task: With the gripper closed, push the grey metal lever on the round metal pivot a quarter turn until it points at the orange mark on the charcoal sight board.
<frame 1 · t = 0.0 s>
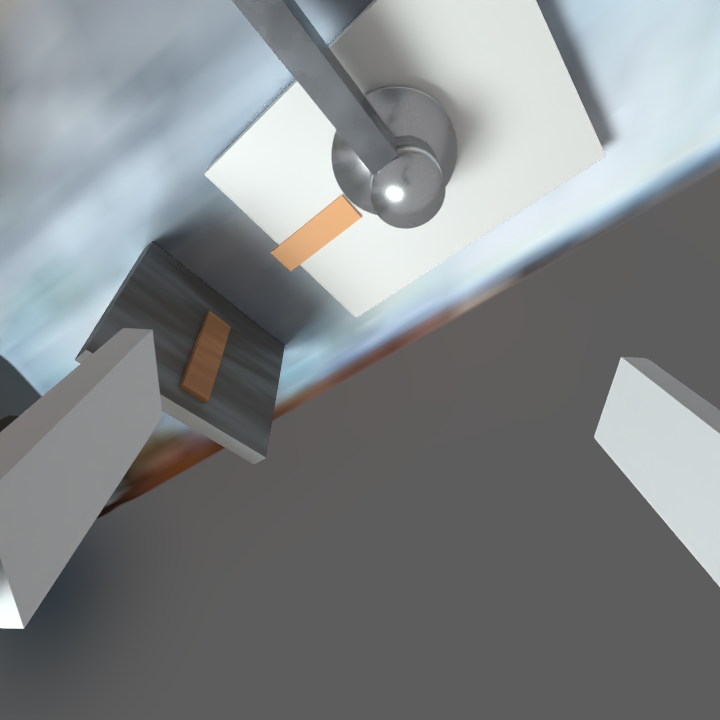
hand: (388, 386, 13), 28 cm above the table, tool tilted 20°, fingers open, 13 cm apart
sight board: (219, 302, 46), on the table
grey metal lever: (349, 107, 30), point 4 cm above the table, hinge at 0.0°
base plate: (401, 157, 36), on the table
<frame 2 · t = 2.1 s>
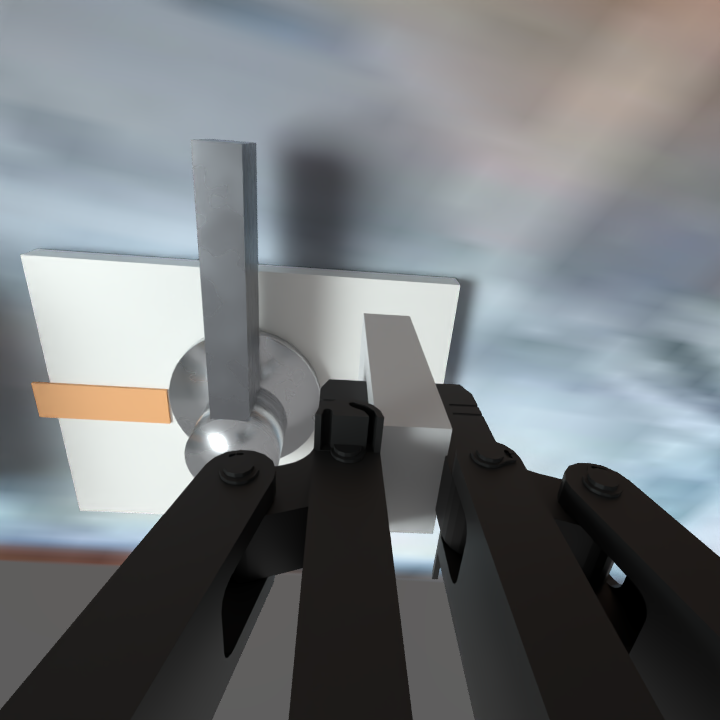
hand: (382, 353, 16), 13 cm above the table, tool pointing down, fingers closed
grey metal lever: (237, 337, 25), point 4 cm above the table, hinge at 0.0°
base plate: (253, 398, 31), on the table
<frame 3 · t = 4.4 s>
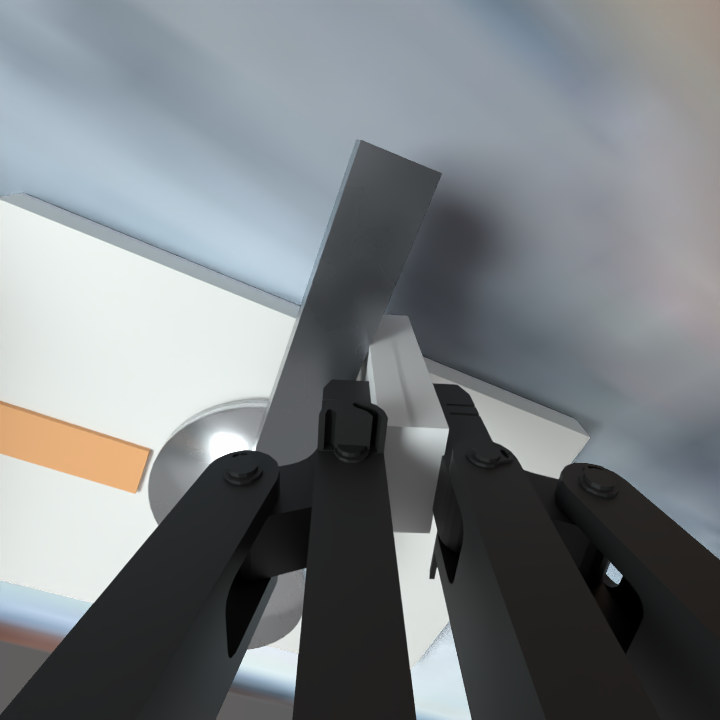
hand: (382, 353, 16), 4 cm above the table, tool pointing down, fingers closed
grey metal lever: (290, 429, 16), point 4 cm above the table, hinge at 3.9°, touching gripper
base plate: (260, 482, 23), on the table
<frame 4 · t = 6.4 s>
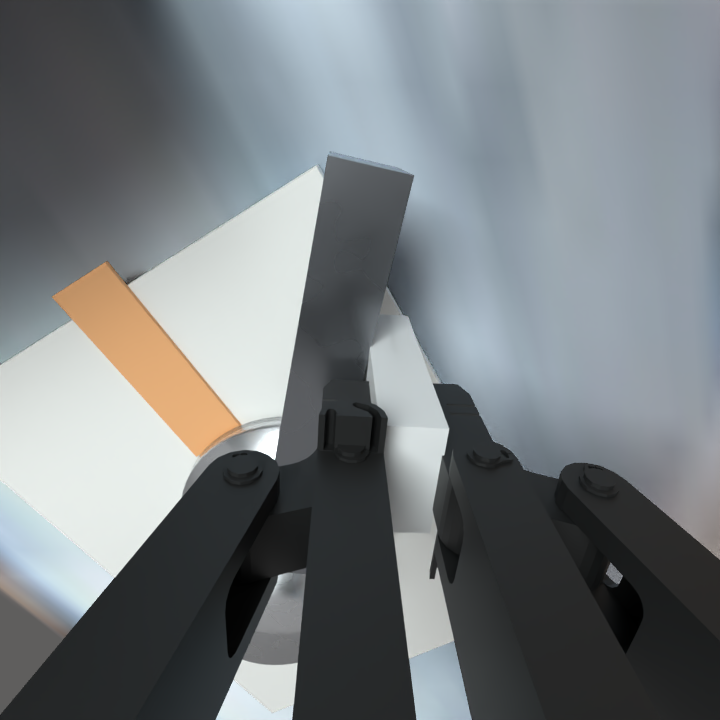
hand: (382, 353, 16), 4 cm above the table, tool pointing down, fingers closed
grey metal lever: (307, 444, 17), point 4 cm above the table, hinge at 48.0°, touching gripper
base plate: (290, 496, 23), on the table
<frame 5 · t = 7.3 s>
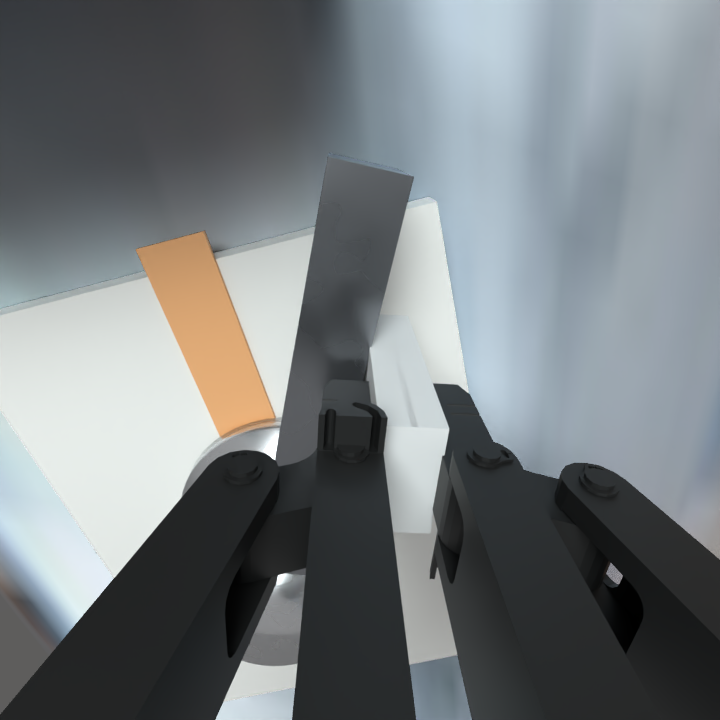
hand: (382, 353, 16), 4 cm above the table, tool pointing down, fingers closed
grey metal lever: (306, 445, 17), point 4 cm above the table, hinge at 63.9°, touching gripper
base plate: (290, 497, 23), on the table
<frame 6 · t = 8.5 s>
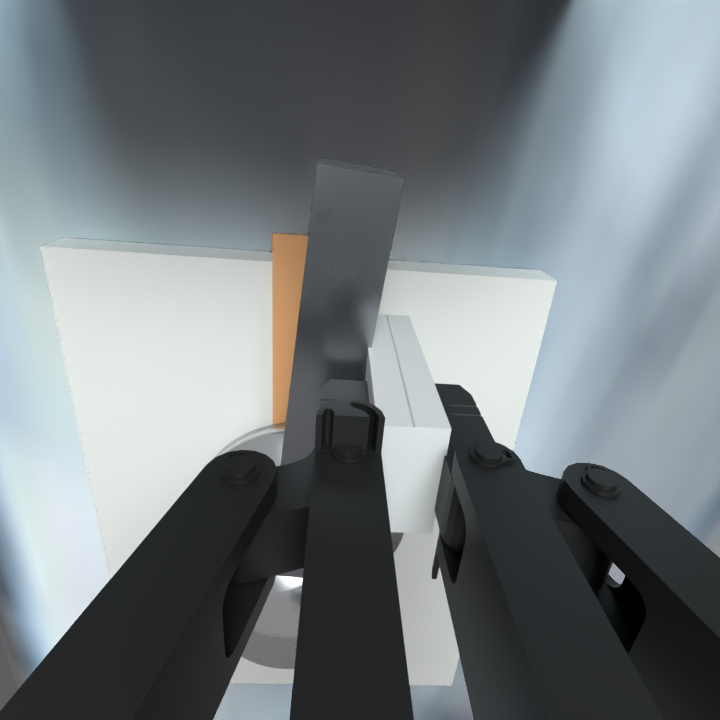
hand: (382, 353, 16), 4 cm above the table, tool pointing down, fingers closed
grey metal lever: (313, 449, 17), point 4 cm above the table, hinge at 84.7°, touching gripper
base plate: (302, 500, 23), on the table
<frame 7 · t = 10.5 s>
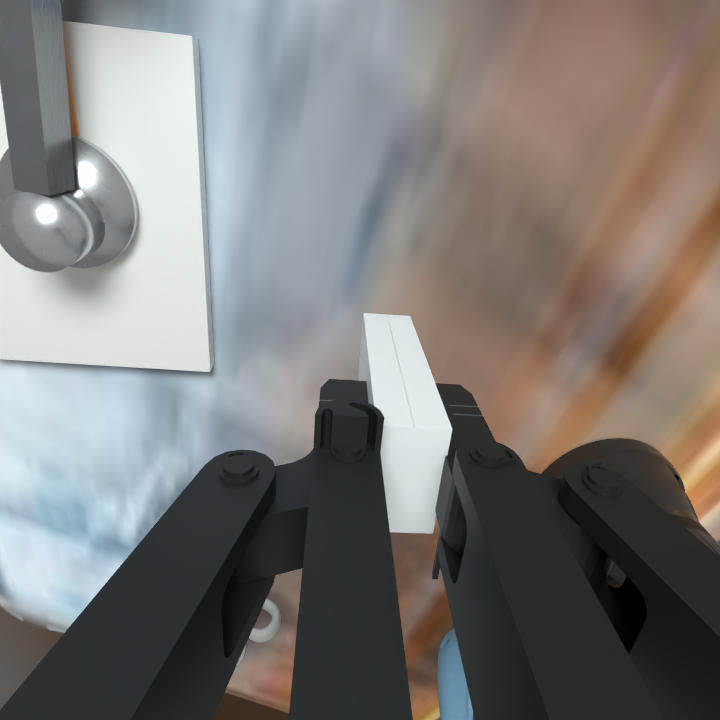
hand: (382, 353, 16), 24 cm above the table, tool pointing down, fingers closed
grey metal lever: (46, 127, 29), point 4 cm above the table, hinge at 84.8°
base plate: (85, 215, 36), on the table
teacup: (225, 577, 54), on the table
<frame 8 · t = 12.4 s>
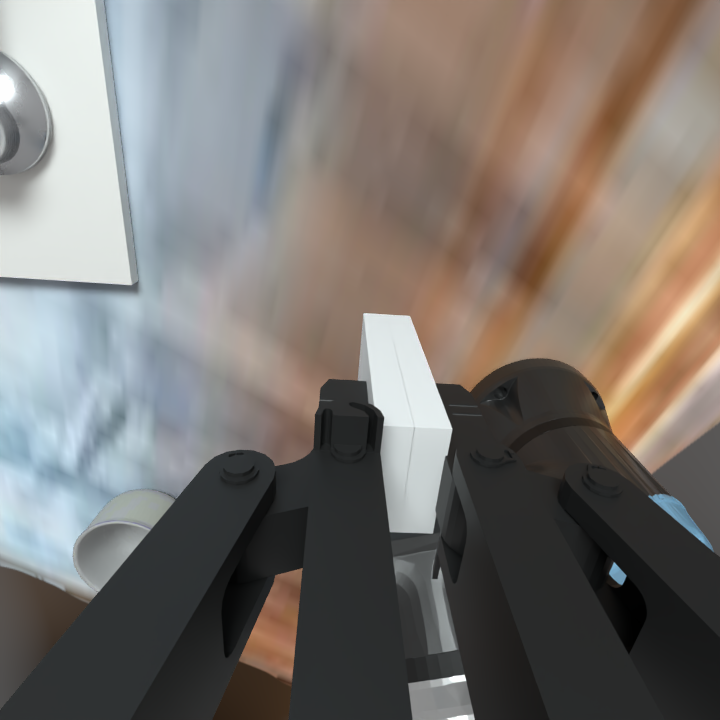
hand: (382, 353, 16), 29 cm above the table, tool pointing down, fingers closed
base plate: (7, 129, 38), on the table
teacup: (167, 510, 56), on the table
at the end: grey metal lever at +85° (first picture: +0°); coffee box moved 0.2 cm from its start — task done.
